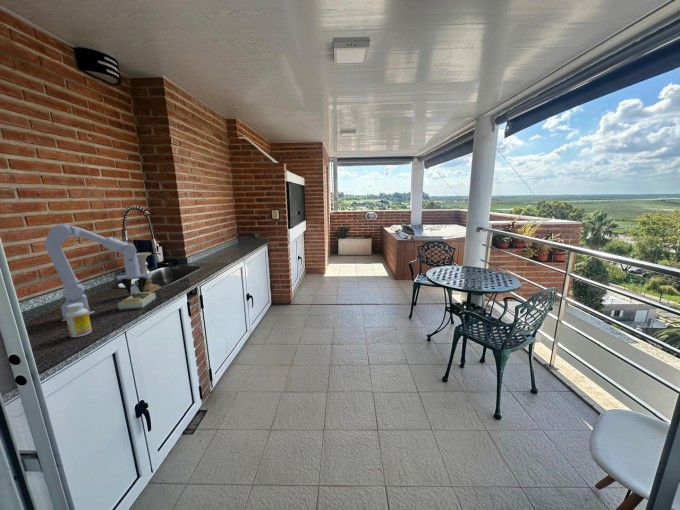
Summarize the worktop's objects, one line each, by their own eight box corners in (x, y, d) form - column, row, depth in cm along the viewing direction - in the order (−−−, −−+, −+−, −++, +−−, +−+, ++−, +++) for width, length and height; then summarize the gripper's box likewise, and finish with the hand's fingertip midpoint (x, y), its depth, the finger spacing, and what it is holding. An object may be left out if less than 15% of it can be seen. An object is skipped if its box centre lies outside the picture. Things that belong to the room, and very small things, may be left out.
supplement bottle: (96, 330, 116) (90, 301, 114) (82, 337, 109) (76, 307, 107) (80, 330, 116) (74, 302, 113) (65, 338, 109) (58, 308, 107)
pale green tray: (142, 308, 140) (141, 299, 139) (118, 310, 138) (117, 301, 137) (156, 299, 153) (154, 290, 152) (134, 300, 151) (132, 292, 150)
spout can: (140, 296, 143) (137, 282, 141) (129, 297, 142) (126, 283, 140) (144, 293, 148) (142, 279, 146) (134, 294, 147) (132, 280, 145)
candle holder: (144, 289, 171) (138, 252, 167) (162, 289, 171) (156, 251, 167) (131, 295, 160) (124, 255, 156) (150, 295, 160) (143, 255, 156)
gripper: (151, 264, 147) (155, 288, 149) (121, 266, 144) (125, 290, 147) (144, 267, 140) (148, 292, 142) (112, 269, 137) (117, 295, 140)
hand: (136, 292), depth 144 cm, fingers closed on spout can, 5 cm apart
